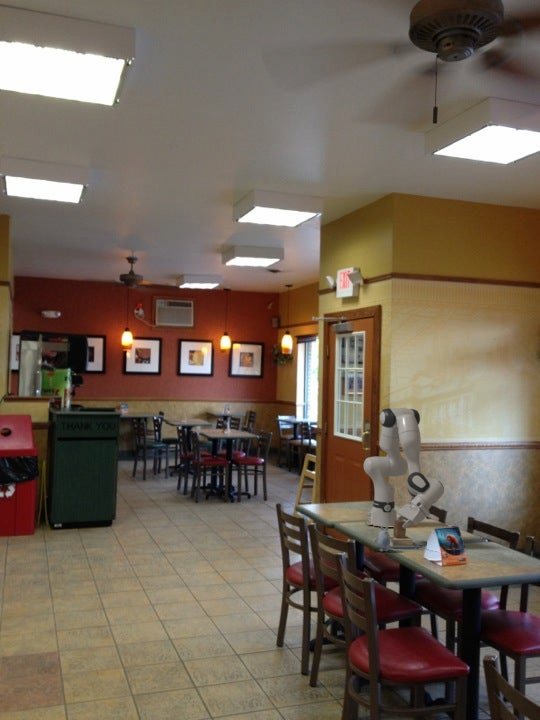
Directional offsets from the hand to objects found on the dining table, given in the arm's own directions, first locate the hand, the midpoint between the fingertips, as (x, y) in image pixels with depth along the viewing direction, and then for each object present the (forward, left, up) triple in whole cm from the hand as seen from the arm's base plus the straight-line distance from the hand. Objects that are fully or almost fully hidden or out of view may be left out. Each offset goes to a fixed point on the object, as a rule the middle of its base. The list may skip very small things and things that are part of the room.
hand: (399, 525), depth 329 cm
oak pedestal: (0, 0, -10) cm, 10 cm away
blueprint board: (-1, +1, -10) cm, 10 cm away
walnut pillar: (0, 0, -6) cm, 6 cm away
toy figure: (+11, -12, -10) cm, 19 cm away
